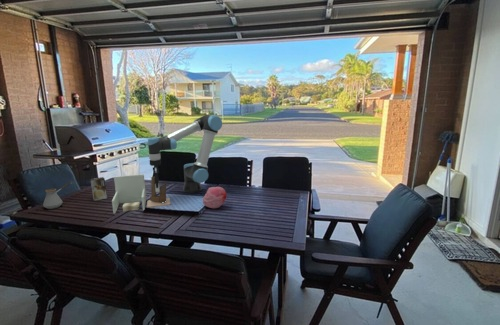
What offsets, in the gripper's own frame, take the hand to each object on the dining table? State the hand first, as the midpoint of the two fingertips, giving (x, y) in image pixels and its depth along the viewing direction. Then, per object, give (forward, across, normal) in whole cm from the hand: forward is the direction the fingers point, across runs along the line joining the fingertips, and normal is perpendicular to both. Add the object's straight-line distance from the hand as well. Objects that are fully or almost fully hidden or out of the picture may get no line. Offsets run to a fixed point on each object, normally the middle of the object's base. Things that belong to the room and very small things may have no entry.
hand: (157, 190), depth 197 cm
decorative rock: (+9, +23, +37) cm, 45 cm away
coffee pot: (+10, -22, -68) cm, 72 cm away
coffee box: (+10, -27, -43) cm, 52 cm away
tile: (+9, 0, 0) cm, 9 cm away
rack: (+9, 0, -19) cm, 21 cm away
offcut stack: (+10, +5, -18) cm, 21 cm away
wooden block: (+8, 0, 0) cm, 8 cm away
